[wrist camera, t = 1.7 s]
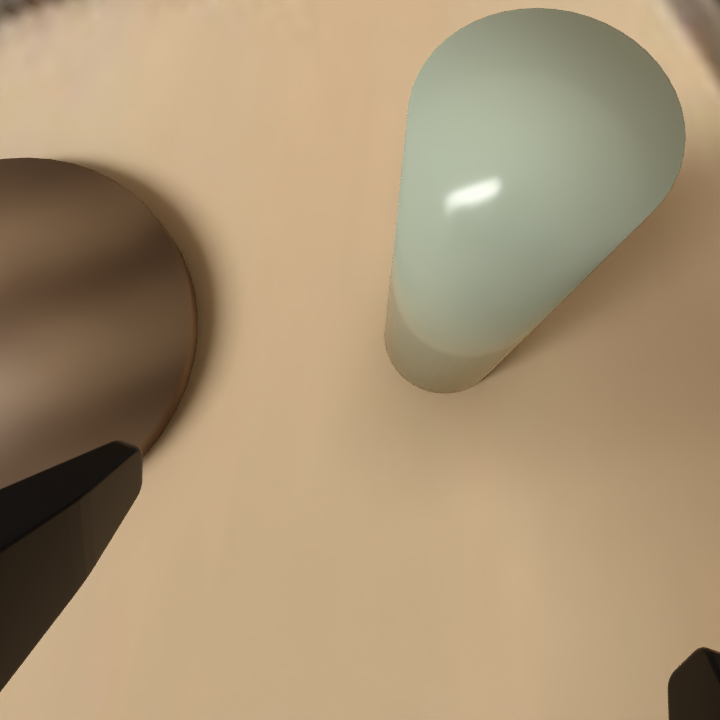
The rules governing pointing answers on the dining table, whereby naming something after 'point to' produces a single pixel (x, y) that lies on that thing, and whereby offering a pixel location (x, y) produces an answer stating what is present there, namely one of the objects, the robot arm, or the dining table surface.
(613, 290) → the dining table surface
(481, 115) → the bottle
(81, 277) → the disc
